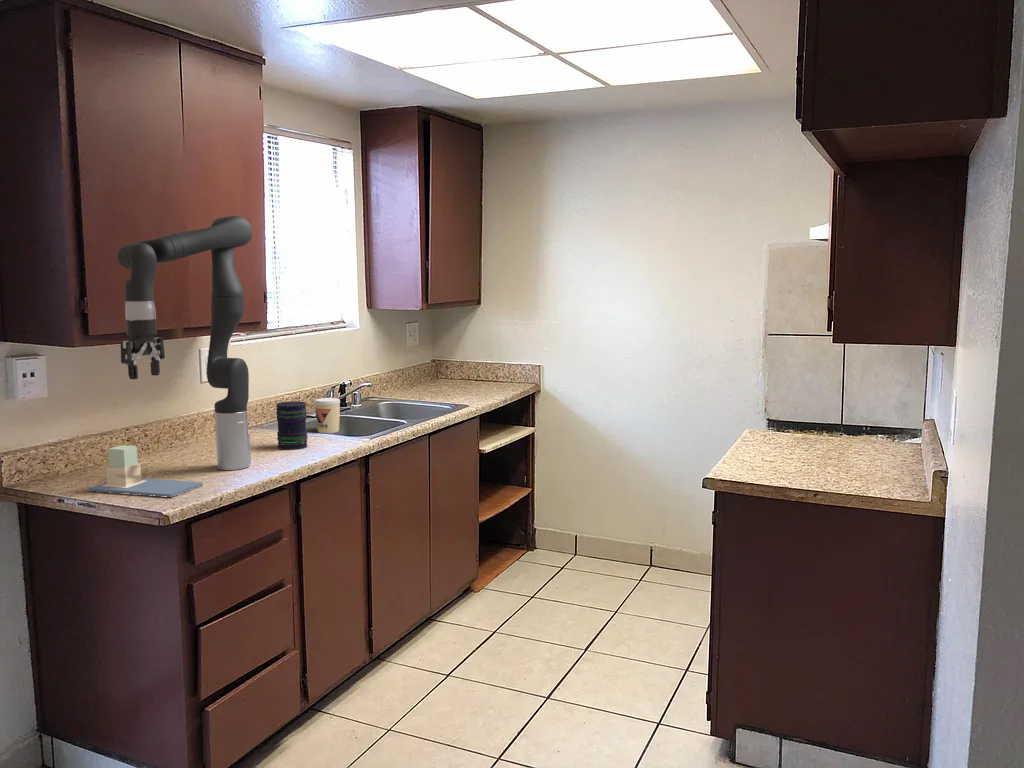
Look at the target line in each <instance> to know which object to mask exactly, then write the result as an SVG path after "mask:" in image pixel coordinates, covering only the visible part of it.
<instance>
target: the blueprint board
mask: <svg viewBox="0 0 1024 768" xmlns="http://www.w3.org/2000/svg"><path fill="white" fill-rule="evenodd" d="M141 480H142V481H141V482H138V483H135V484H132V485H129V486H126V487H124V486H111V485H108V484H107V482H104V483H99V484H97V485H94V486H91V487H88V492H89V491H96V492H95V493H99V492H108V493H107V494H111V493H129V494H141V495H152V496H153V495H155V496H167V497H172V496H175V495H177V494H180V493H182V492H185V491H188V490H191V489H193V488H196V487H198V486H201V485H203V482H202V481H201V482H200V481H191V480H190V481H185V480H174V479H163V478H162V479H160V478H159V479H158V478H148V477H147V478H146V477H141ZM201 487H202V486H201ZM196 489H197V488H196ZM191 491H192V490H191ZM109 492H111V493H109ZM188 492H189V491H188Z"/></svg>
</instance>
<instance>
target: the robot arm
mask: <svg viewBox="0 0 1024 768" xmlns="http://www.w3.org/2000/svg"><path fill="white" fill-rule="evenodd" d="M252 236H253V228H252V225H251V223H250V222H249V220H247V219H246V218H244V217H243V216H240V215H231V216H230V215H229V216H223V217H218V218H216V219H214V221H213V222H212V224H211V225H210V226H209V227H208V226H207V227H205V228H201V229H194V230H187V231H181V232H180V231H179V232H176V233H171V234H168V235H163V236H159V237H157V238H153V239H148V240H141V241H136V242H130V243H126V244H123V246H121V247H120V248H119V250H118V251H117V254H116V257H117V261H118V263H119V264H120V266H122V267H123V268H124V269H127V270H131V273H130V279H127V280H126V281H125V283H124V298H125V299H124V300H125V307H124V314H125V328H126V331H125V332H126V335H127V336H128V337H129V340H121V341H120V363H121V364H125V365H126V366H127V372H128V373H127V374H128V377H129V379H130V380H138V379H139V373H138V372H139V371H138V365H137V364H138V362H139V359H141V358H142V356H143V357H144V356H147V358H148V359H149V360H150V375H151V376H160V374H161V373H160V371H161V369H160V367H161V366H160V362H161V360H164V359H165V358H166V356H165V344H164V338H163V337H155V336H156V335H157V334H158V330H157V327H158V326H157V314H156V305H155V300H154V299H155V295H154V282H155V278H156V271H157V265H158V264H160V263H163V264H164V263H169V262H173V261H178V260H181V259H184V258H187V257H191V256H194V255H198V254H200V253H204V252H207V251H210V252H211V295H210V296H211V298H210V299H211V300H210V303H211V304H210V313H211V314H210V334H209V335H210V337H209V345H208V346H209V347H208V354H207V359H206V360H207V361H206V379H207V382H208V384H209V386H210V387H212V388H213V389H224V390H225V389H227V393H226V394H227V395H226V396H225V397H224V398H222V399H220V400H217V401H216V402H215V403H214V423H215V441H216V442H215V444H216V459H217V460H216V463H217V469H218V470H222V471H234V470H237V471H238V470H242V469H246V468H249V467H250V465H251V464H252V459H251V458H252V456H251V455H252V453H251V436H250V434H249V424H248V423H249V421H248V403H249V394H250V393H249V392H250V390H249V385H250V383H249V379H250V378H249V368H248V367H249V366H248V365H247V363H246V361H245V360H244V359H242V358H239V357H228V350H229V349H228V348H229V344H230V340H231V339H232V336H233V334H234V333H235V331H236V330H237V328H238V326H239V324H240V323H241V321H242V319H243V316H244V311H245V309H244V308H245V306H244V305H245V303H244V302H245V295H244V294H245V293H244V288H243V285H242V282H241V281H240V278H239V276H238V272H237V270H236V267H235V250H236V248H241V247H243V246H245V245H247V244H248V243H249V242H250V241H251V240H252V238H253V237H252Z"/></svg>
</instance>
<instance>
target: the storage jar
mask: <svg viewBox="0 0 1024 768" xmlns="http://www.w3.org/2000/svg"><path fill="white" fill-rule="evenodd" d="M275 404H276V406H275V407H276V412H275V413H276V421H277V441H278V442H277V444H278V446H277V448H279V449H278V450H281V449H282V451H283V450H284V451H296V450H298V451H299V450H303V449H305V448H307V447H308V430H307V416H308V415H307V414H308V413H307V412H308V411H307V407H306V406H307V403H306V402H305V401H298V400H297V401H296V400H295V401H291V400H290V401H282V402H278V403H275Z"/></svg>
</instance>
